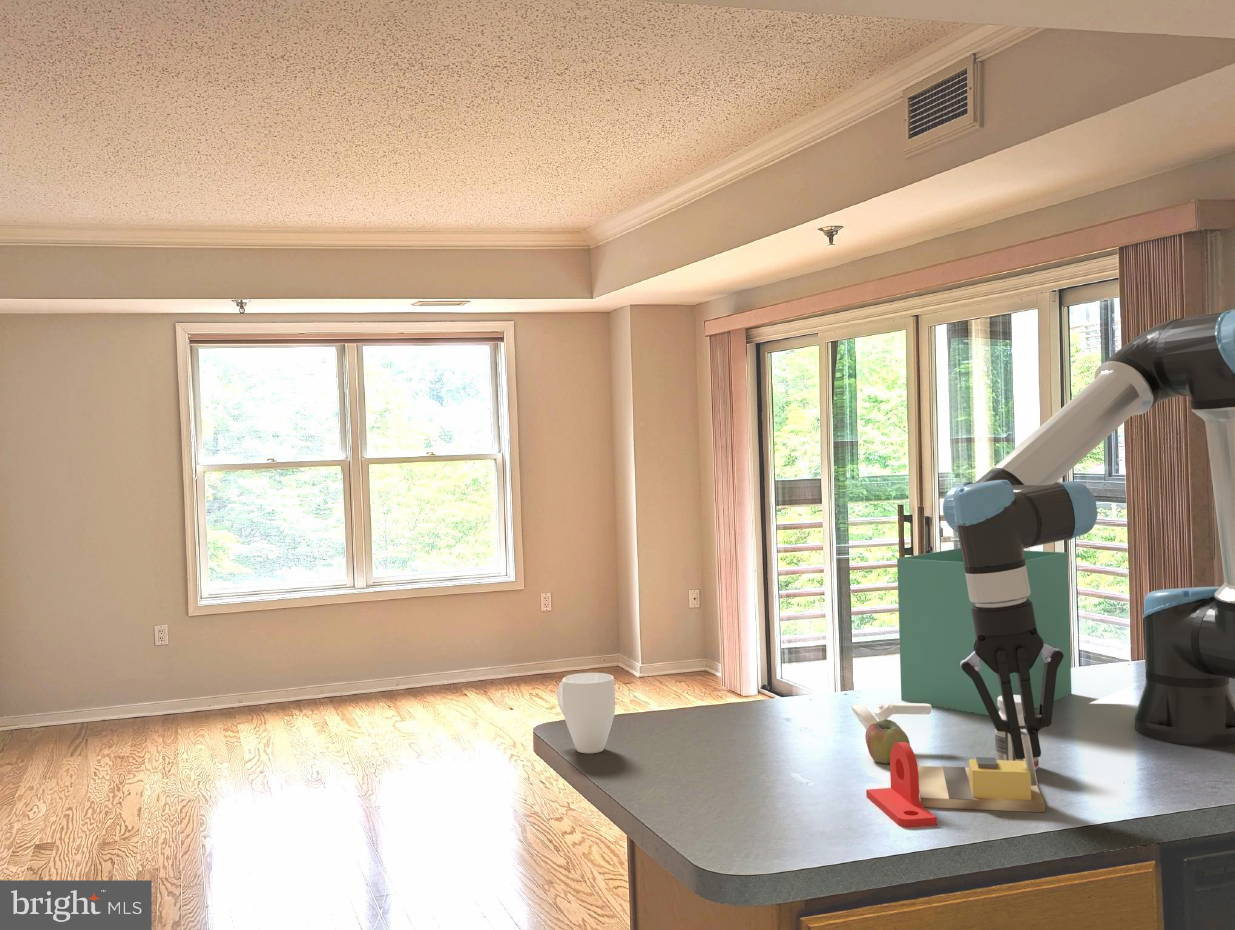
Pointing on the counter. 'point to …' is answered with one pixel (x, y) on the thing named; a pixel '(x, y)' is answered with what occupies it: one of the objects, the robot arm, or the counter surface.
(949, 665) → the box
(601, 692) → the mug
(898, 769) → the bracket
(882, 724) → the apple
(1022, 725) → the pill bottle
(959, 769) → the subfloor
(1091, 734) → the counter surface
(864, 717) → the hook
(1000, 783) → the block
